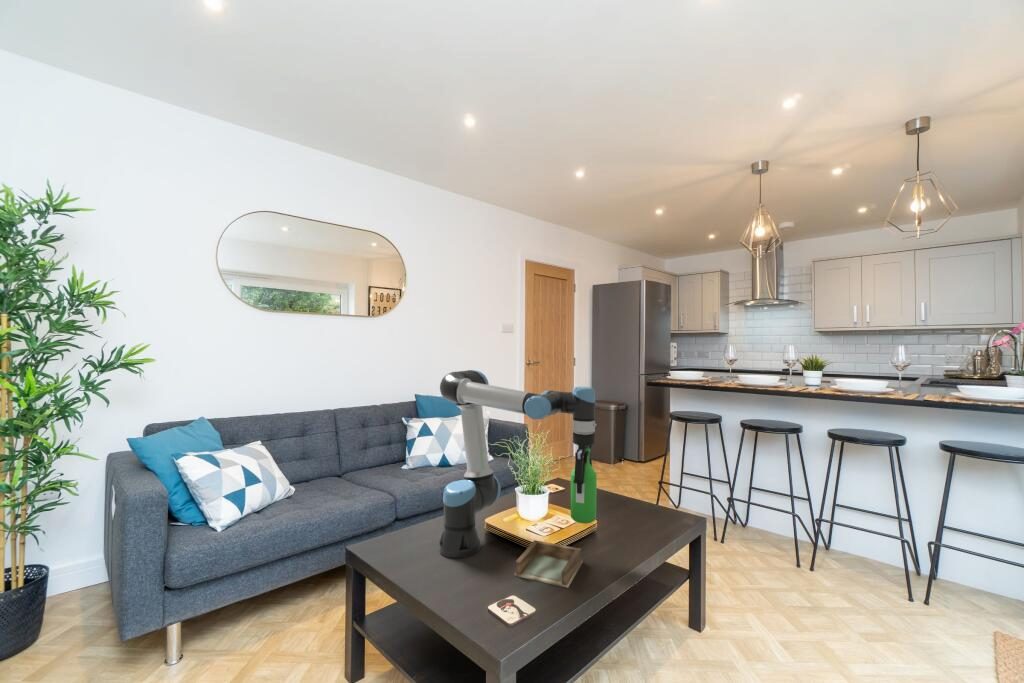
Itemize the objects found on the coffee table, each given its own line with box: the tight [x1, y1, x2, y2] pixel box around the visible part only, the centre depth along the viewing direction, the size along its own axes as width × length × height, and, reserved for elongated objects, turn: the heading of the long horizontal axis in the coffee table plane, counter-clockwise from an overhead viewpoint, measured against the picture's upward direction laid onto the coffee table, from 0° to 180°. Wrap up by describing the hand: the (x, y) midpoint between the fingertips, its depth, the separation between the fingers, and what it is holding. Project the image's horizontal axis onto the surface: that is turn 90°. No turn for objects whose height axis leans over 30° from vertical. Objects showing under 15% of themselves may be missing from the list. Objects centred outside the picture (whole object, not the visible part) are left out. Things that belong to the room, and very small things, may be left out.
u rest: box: [513, 539, 584, 589], centre depth 147 cm, size 18×17×5 cm
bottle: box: [570, 447, 598, 524], centre depth 152 cm, size 9×9×25 cm
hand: (583, 497), depth 152 cm, fingers closed on bottle, 9 cm apart
